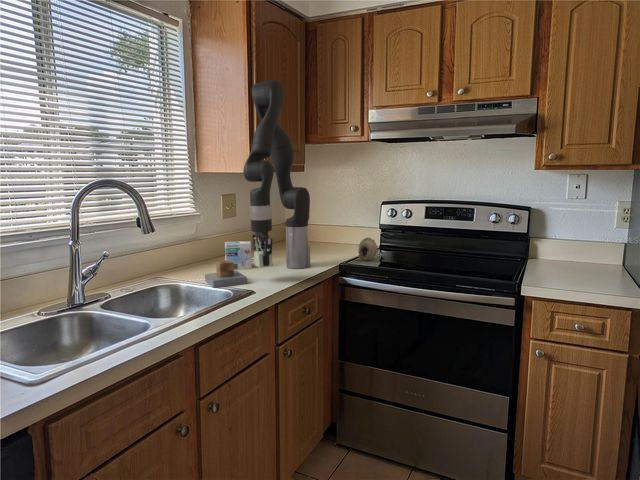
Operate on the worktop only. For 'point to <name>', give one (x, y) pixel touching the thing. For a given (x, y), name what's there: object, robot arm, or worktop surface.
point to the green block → (261, 259)
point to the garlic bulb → (367, 249)
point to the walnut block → (225, 268)
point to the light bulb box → (239, 254)
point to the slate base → (225, 279)
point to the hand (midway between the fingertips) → (263, 264)
